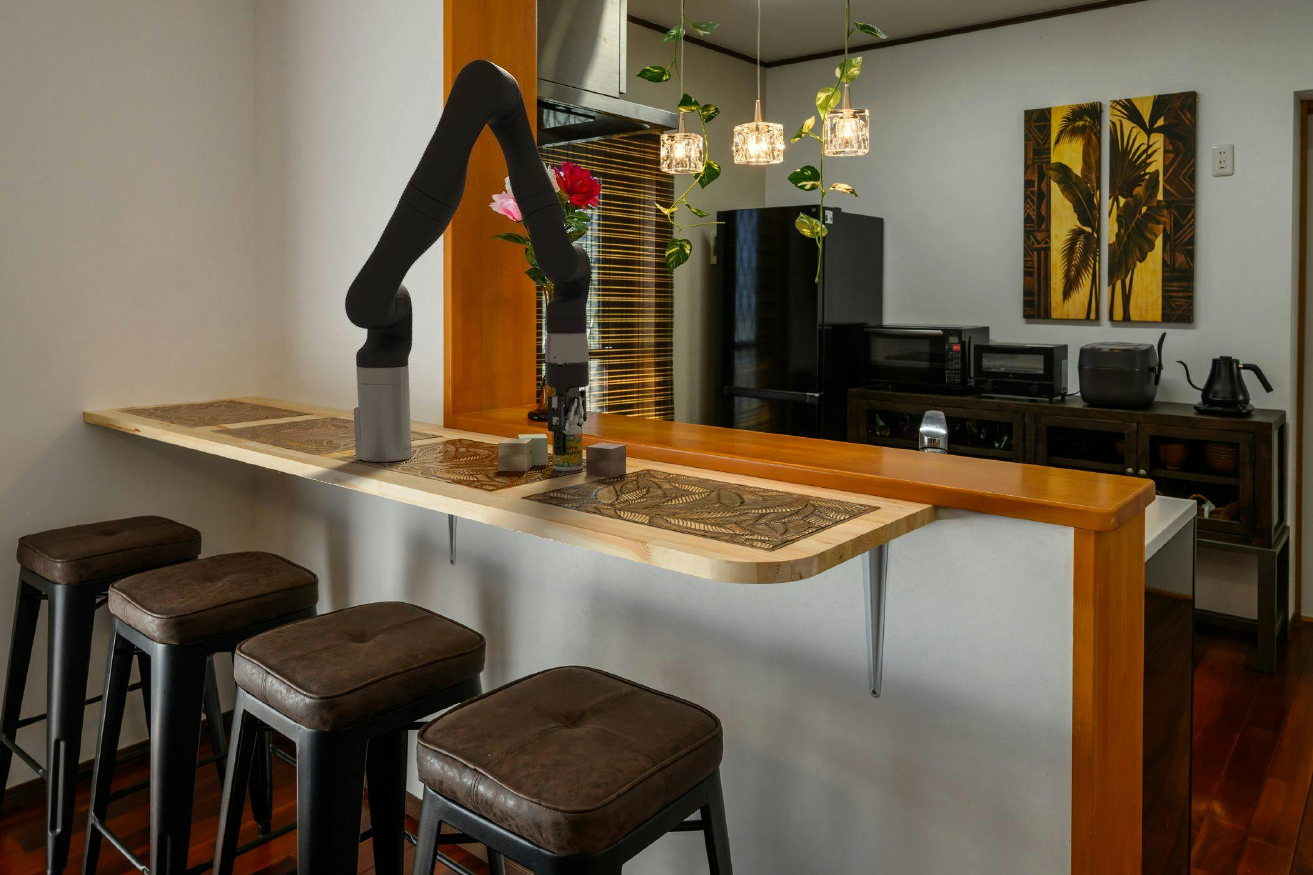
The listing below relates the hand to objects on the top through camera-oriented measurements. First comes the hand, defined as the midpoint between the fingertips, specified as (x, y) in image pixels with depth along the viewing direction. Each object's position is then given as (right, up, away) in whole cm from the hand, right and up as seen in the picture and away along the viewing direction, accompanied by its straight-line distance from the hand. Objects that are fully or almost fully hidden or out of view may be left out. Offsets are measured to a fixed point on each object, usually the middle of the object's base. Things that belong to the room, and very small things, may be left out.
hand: (568, 451), depth 160 cm
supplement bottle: (0, -3, +1) cm, 3 cm away
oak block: (-9, -3, +1) cm, 10 cm away
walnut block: (+7, -4, -4) cm, 9 cm away
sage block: (-7, -2, +6) cm, 10 cm away
